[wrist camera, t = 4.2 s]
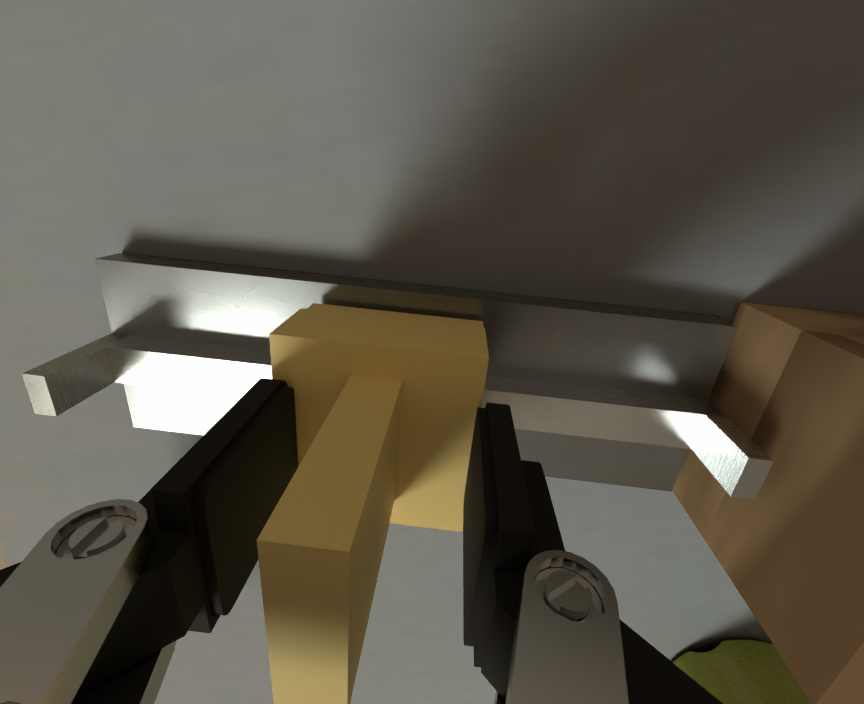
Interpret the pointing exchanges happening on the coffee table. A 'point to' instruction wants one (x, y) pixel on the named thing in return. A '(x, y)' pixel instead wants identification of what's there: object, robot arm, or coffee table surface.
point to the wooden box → (795, 490)
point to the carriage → (360, 475)
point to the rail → (501, 314)
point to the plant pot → (744, 673)
